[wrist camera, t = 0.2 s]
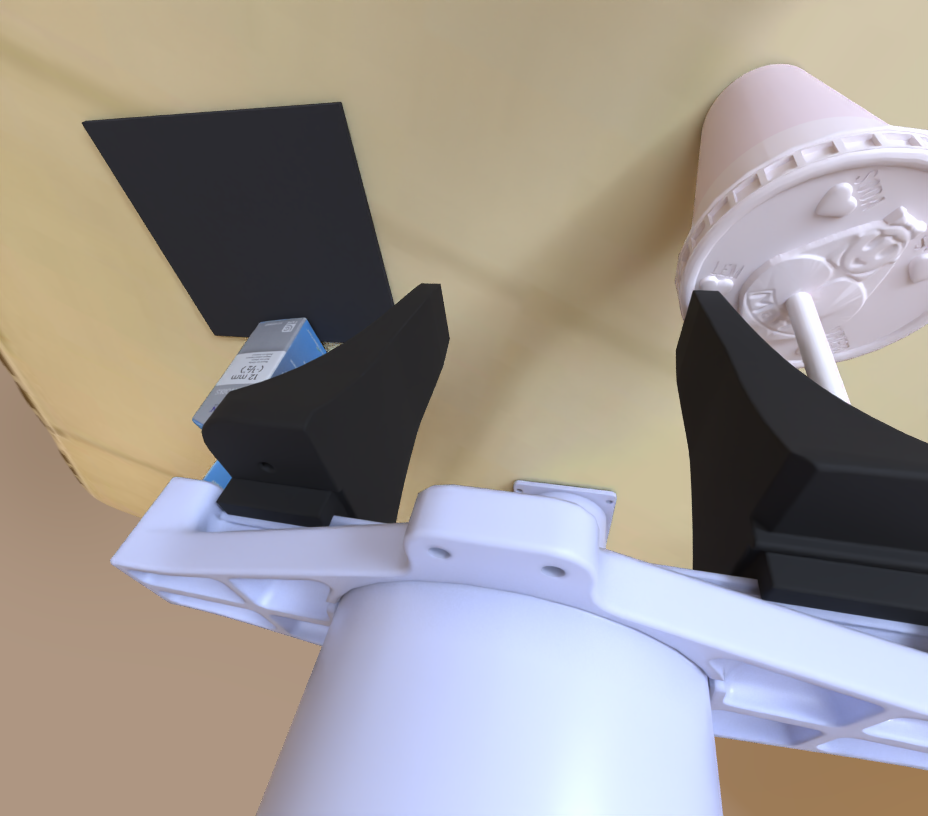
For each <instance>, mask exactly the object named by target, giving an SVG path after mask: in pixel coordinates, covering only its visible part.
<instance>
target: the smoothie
mask: <svg viewBox="0 0 928 816" xmlns="http://www.w3.org/2000/svg"><path fill="white" fill-rule="evenodd" d="M675 284H676V289H677V294H678V299H679V303H680V310H681V314H682V318H683V320H685V316H686V313H687V309H688V306H689V302H690V299H691V295H692V292H693V290H706V291H719V292H720V293H721V294H722V295H723V296H724V297H725V299H726V300H727V301H728V302H729V303H730V304H731V305H732V306H733V308H734V309H735V310H736V311H737V312H738V313H739V314H740V315H741V317H742V318H743V319H744V320H745V321H746V322H747V323H748V324H749V325H750V326H751V327H752V328H753V329H754V330H755V331H756V332H757V333H758V334H759V335H760V336H761V337H762V338H763V339H764V340H765V341H766V342H767V343H768V344H769V345H770V346H771V347H772V348H773V349H774V350H775V351H777V352H778V353H779V354H780V355H781V356H782V357H783V358H784V359H786V360H787V361H788V362H789V363H790V364H792V365H793V366H794V367H795V368H797V369H799V368H805V370H806V373H807V377H809V378H810V379H811V380H813V381H814V382H815V383H817V384H818V385H820V386H821V387H823V388H824V389H826V390H827V391H829V392H830V393H832V394H834V395H835V396H837V397H838V398H840V399H842V400H843V401H845V402H847V403H848V404H850V401H849V399H848V396H847V393H846V390H845V388H844V385H843V382H842V379H841V377H840V374H839V371H838V368H837V366H836V363H837V362H841V361H845V360H849V359H853V358H856V357H859V356H862V355H864V354H867V353H870V352H873V351H876V350H879V349H881V348H883V347H885V346H887V345H890V344H892V343H894V342H896V341H898V340H900V339H903V338H905V337H906V336H908V335H910V334H911V333H913V332H915V331H917V330H918V329H920V328H922V327H923V326H925V325H926V324H928V130H922V129H915V128H907V127H899V126H891V125H889V124H887V123H886V122H884V121H882V120H881V119H879V118H878V117H876V116H875V115H873V114H871V113H870V112H868V111H867V110H865V109H864V108H862V107H861V106H859V105H857V104H856V103H854V102H853V101H851V100H850V99H848V98H846V97H845V96H843V95H842V94H840V93H839V92H837V91H835V90H834V89H832V88H831V87H829V86H828V85H826V84H824V83H823V82H821V81H820V80H818V79H817V78H815V77H813V76H812V75H810V74H809V73H807V72H806V71H804V70H803V69H801V68H799V67H796V66H793V65H789V64H772V65H766V66H762V67H759V68H756V69H754V70H752V71H750V72H748V73H746V74H744V75H742V76H741V77H739V78H738V79H736V80H735V81H734V82H732V83H731V84H730V85H729V86H728V87H727V88H726V89H725V90H724V91H723V92H722V93H721V94H720V95H719V96H718V97H717V99H716V100H715V101H714V103H713V104H712V106H711V108H710V109H709V111H708V113H707V115H706V118H705V121H704V124H703V128H702V134H701V144H700V154H699V163H698V173H697V182H696V192H695V201H694V211H693V221H692V228H691V230H690V232H689V234H688V236H687V238H686V241H685V243H684V245H683V247H682V249H681V251H680V253H679V256H678V263H677V270H676V277H675ZM850 405H851V404H850Z"/></svg>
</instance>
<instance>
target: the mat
mask: <svg viewBox="0 0 928 816" xmlns="http://www.w3.org/2000/svg"><path fill="white" fill-rule="evenodd" d="M82 125H83V126H84V128H85V129H86V131H87V133H88V134H89V136H90V137H91V139H92V140H93V142H94V144H95V145H96V147H97V148H98V150H99V152H100V153H101V155H102V156H103V158H104V160H105V161H106V163H107V164H108V166H109V168H110V169H111V171H112V172H113V174H114V176H115V177H116V179H117V180H118V182H119V184H120V185H121V187H122V188H123V190H124V192H125V193H126V195H127V196H128V198H129V199H130V201H131V203H132V204H133V206H134V207H135V209H136V211H137V212H138V214H139V215H140V217H141V219H142V220H143V222H144V223H145V225H146V227H147V228H148V230H149V231H150V233H151V235H152V236H153V238H154V239H155V241H156V243H157V244H158V246H159V247H160V249H161V251H162V252H163V254H164V255H165V257H166V258H167V260H168V262H169V263H170V265H171V266H172V268H173V270H174V271H175V273H176V274H177V276H178V278H179V279H180V281H181V282H182V284H183V286H184V287H185V289H186V290H187V292H188V294H189V295H190V297H191V298H192V300H193V302H194V303H195V305H196V306H197V308H198V310H199V311H200V313H201V314H202V316H203V317H204V319H205V321H206V322H207V324H208V325H209V327H210V329H211V330H212V332H213V333H214V335H217V336H234V337H250V335H251V334H252V333H253V331H254V330H255V329H256V327H257V326H258V324H259V323H260V322H266V321H275V320H283V319H295V318H306V319H307V320H308V322H309V324H310V325H311V327H312V329H313V330H314V332H315V334H316V336H317V337H318V339H319V341H323V342H341V343H345V342H346V341H348V340H349V339H351V338H352V337H354V336H355V335H357V334H358V333H359V332H361V331H362V330H363V329H365V328H366V327H367V326H369V325H370V324H372V323H373V322H374V321H376V320H377V319H378V318H380V317H381V316H382V315H383V314H384V313H386V312H387V311H388V310H389V309H390V308H392V307H393V306H394V302H393V298H392V294H391V290H390V286H389V283H388V279H387V275H386V271H385V267H384V264H383V260H382V256H381V252H380V248H379V244H378V241H377V237H376V233H375V229H374V225H373V221H372V218H371V214H370V210H369V206H368V202H367V198H366V195H365V191H364V187H363V183H362V179H361V175H360V172H359V168H358V164H357V160H356V156H355V153H354V149H353V145H352V141H351V137H350V133H349V130H348V126H347V122H346V118H345V114H344V110H343V107H342V103H341V102H334V103H321V104H307V105H294V106H280V107H267V108H254V109H240V110H227V111H213V112H200V113H186V114H173V115H159V116H146V117H132V118H119V119H105V120H92V121H84V122H82Z"/></svg>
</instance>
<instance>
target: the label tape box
mask: <svg viewBox="0 0 928 816" xmlns="http://www.w3.org/2000/svg"><path fill="white" fill-rule="evenodd" d="M326 353H327V352H326V350H325V349H324V347H323V346H322V344H321V342H320V341H319V339H318V337H317V336H316V334H315V332H314V330H313V329H312V327H311V325H310V324H309V322H308V320H307V319H306V318H295V319H283V320H275V321H266V322H260V323H259V324H258V326H257V327H256V329H255V330H254V331H253V333H252V334H251V335H250V337H249V338H248V340H247V341H246V342H245V344H244V345H243V347H242V348H241V350H240V351H239V353H238V354H237V356H236V357H235V358H234V360H233V361H232V363H231V364H230V365H229V367H228V368H227V370H226V371H225V373H224V374H223V375H222V377H221V378H220V380H219V381H218V382H217V384H216V385H215V387H214V388H213V390H212V391H211V392H210V394H209V395H208V397H207V398H206V399H205V401H204V402H203V404H202V405H201V407H200V408H199V409H198V411H197V412H196V413H195V415H194V416H193V418H192V421H193V422H194V423H195V424H196V425H197V426H198V427H199V428H200V429H201V430H202V427H203V425H204V423H205V422H206V421H207V419H208V418H209V417H210V415H211V414H212V413H213V412H214V410H215V409H216V408H217V406H218V405H219V404H220V403H221V401H222V400H223V399H224V397H225V396H226V395H227V393H228V392H229V391H232V390H236V389H239V388H242V387H246V386H249V385H252V384H255V383H258V382H262V381H264V380H267V379H270V378H273V377H275V376H278V375H281V374H283V373H286V372H288V371H290V370H293V369H295V368H298V367H300V366H302V365H304V364H306V363H308V362H310V361H312V360H314V359H316V358H318V357H320V356H322V355H324V354H326ZM231 478H232V477H231V476H230V474H229V473H228V472H227V471H226V470H225V468H224V467H223V466H222V465H221V464H220V462H219V461H218V460H217V461H216V462H215V463H214V465H213V466H212V467H211V469H210V470H209V471H208V473H207V474H206V476H205V477H204V478H203V480H204V481H209V482H212V483H214V484H216V485H218V486H219V487H220V488H222V489H223V490H224V489H225V487H226V486H227V484H228V483H229V481H230V480H231Z"/></svg>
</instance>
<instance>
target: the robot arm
mask: <svg viewBox="0 0 928 816" xmlns="http://www.w3.org/2000/svg"><path fill="white" fill-rule="evenodd" d="M449 339H450V337H449V331H448V326H447V320H446V314H445V308H444V302H443V296H442V290H441V284H424V283H421V284H420V285H418V286H417V287H416V288H414V289H413V290H412V291H411V292H410V293H408V294H407V295H406V296H405V297H404V298H402V299H401V300H400V301H399V302H398V303H397V304H395V305H394V306H393V307H392V308H390V309H389V310H388V311H387V312H386V313H384V314H383V315H382V316H381V317H380V318H378V319H377V320H376V321H374V322H373V323H372V324H370V325H369V326H367V327H366V328H365V329H363V330H362V331H361V332H359V333H358V334H357V335H355V336H354V337H352V338H351V339H349V340H348V341H346V342H345V343H343V344H341V345H340V346H338V347H336V348H335V349H333V350H331V351H330V352H328V353H326V354H324V355H322V356H320V357H318V358H316V359H314V360H312V361H310V362H308V363H306V364H304V365H302V366H300V367H298V368H295V369H293V370H290V371H288V372H286V373H283V374H281V375H278V376H275V377H273V378H270V379H267V380H264V381H262V382H258V383H255V384H252V385H249V386H246V387H242V388H239V389H236V390H232V391H229V392H228V393H227V395H226V396H225V397H224V399H223V400H222V401H221V403H220V404H219V405H218V406H217V408H216V409H215V410H214V412H213V413H212V414H211V415H210V417H209V418H208V419H207V421H206V422H205V423H204V425H203V427H202V436H203V439H204V442H205V444H206V445H207V447H208V449H209V450H210V451H211V453H212V454H213V455H214V456H215V457H216V459H217V460H218V461H219V462H220V464H221V465H222V466H223V467H224V468H225V470H226V471H227V472H228V473H229V474H230V476H231V477H232V478H231V480H230V481H229V483H228V484H227V486H226V487H225V489H224V490H223V489H222V488H220V487H219V486H218V485H216V484H214V483H212V482H209V481H204V480H197V479H190V478H183V477H173V478H172V479H171V481H170V482H169V483H168V484H167V486H166V487H165V488H164V490H163V491H162V492H161V494H160V495H159V496H158V498H157V499H156V500H155V502H154V503H153V504H152V506H151V507H150V508H149V510H148V511H147V512H146V513H145V515H144V516H143V517H142V519H141V520H140V521H139V523H138V524H137V525H136V527H135V528H134V529H133V531H132V532H131V533H130V535H129V536H128V537H127V539H126V540H125V541H124V543H123V544H122V545H121V547H120V548H119V549H118V550H117V552H116V553H115V554H114V556H113V557H112V558H111V560H110V561H111V564H112V565H113V566H115V567H116V568H118V569H119V570H121V571H122V572H124V573H125V574H127V575H128V576H130V577H131V578H133V579H134V580H136V581H138V582H139V583H140V584H142V585H143V586H145V587H146V588H148V589H150V590H151V591H152V592H154V593H155V594H157V595H158V596H160V597H161V598H163V599H164V600H166V601H167V602H169V603H171V604H176V605H180V606H184V607H189V608H193V609H197V610H202V611H206V612H209V613H213V614H216V615H220V616H224V617H228V618H231V619H234V620H238V621H241V622H245V623H248V624H251V625H255V626H258V627H261V628H264V629H268V630H271V631H274V632H278V633H281V634H284V635H287V636H291V637H294V638H297V639H300V640H303V641H307V642H310V643H313V644H316V645H320V646H322V648H321V650H320V653H319V655H318V658H317V661H316V663H315V665H314V668H313V671H312V674H311V676H310V678H309V681H308V683H307V686H306V688H305V691H304V694H303V696H302V699H301V701H300V704H299V706H298V709H297V712H296V714H295V717H294V719H293V722H292V724H291V727H290V730H289V732H288V734H287V737H286V739H285V742H284V745H283V747H282V750H281V752H280V755H279V757H278V760H277V763H276V765H275V768H274V770H273V773H272V775H271V778H270V781H269V783H268V785H267V788H266V791H265V793H264V796H263V798H262V801H261V803H260V806H259V808H258V811H257V813H256V816H723V812H722V803H721V793H720V784H719V775H718V766H717V758H716V749H715V739H714V736H716V737H722V738H729V739H735V740H742V741H748V742H754V743H761V744H768V745H775V746H781V747H788V748H794V749H801V750H807V751H813V752H820V753H826V754H833V755H840V756H846V757H853V758H859V759H865V760H871V761H877V762H884V763H889V764H896V765H902V766H907V767H913V768H918V769H924V770H928V443H926V442H923V441H921V440H919V439H916V438H914V437H912V436H909V435H907V434H905V433H903V432H901V431H899V430H897V429H895V428H893V427H891V426H889V425H887V424H885V423H883V422H881V421H879V420H877V419H875V418H873V417H871V416H869V415H868V414H866V413H864V412H862V411H860V410H858V409H857V408H855V407H853V406H851V405H850V404H848V403H847V402H845V401H843V400H842V399H840V398H838V397H837V396H835V395H834V394H832V393H830V392H829V391H827V390H826V389H824V388H823V387H821V386H820V385H818V384H817V383H815V382H814V381H813V380H811V379H810V378H809V377H807V376H806V375H805V374H803V373H802V372H801V371H799V370H798V369H797V368H795V367H794V366H793V365H792V364H790V363H789V362H788V361H787V360H786V359H784V358H783V357H782V356H781V355H780V354H779V353H778V352H777V351H775V350H774V349H773V348H772V347H771V346H770V345H769V344H768V343H767V342H766V341H765V340H764V339H763V338H762V337H761V336H760V335H759V334H758V333H757V332H756V331H755V330H754V329H753V328H752V327H751V326H750V325H749V324H748V323H747V322H746V321H745V320H744V319H743V318H742V317H741V315H740V314H739V313H738V312H737V311H736V310H735V309H734V308H733V306H732V305H731V304H730V303H729V302H728V301H727V300H726V299H725V297H724V296H723V295H722V294H721V293H720V292H719V291H706V290H693V292H692V295H691V299H690V302H689V306H688V309H687V313H686V316H685V320H684V324H683V327H682V331H681V334H680V338H679V341H678V345H677V348H676V378H677V387H678V393H679V398H680V404H681V410H682V415H683V421H684V426H685V432H686V437H687V443H688V449H689V457H690V472H691V491H692V522H693V570H691V569H685V568H678V567H672V566H665V565H658V564H652V563H648V562H645V561H641V560H638V559H635V558H632V557H629V556H626V555H623V554H620V553H617V552H614V551H611V550H607V549H606V543H607V538H608V534H609V530H610V525H611V521H612V517H613V512H614V508H615V504H616V499H617V495H616V493H615V492H612V491H606V490H597V489H589V488H580V487H572V486H564V485H555V484H547V483H539V482H530V481H522V480H517V481H515V482H514V485H513V491H514V492H510V491H502V490H494V489H486V488H478V487H470V486H462V485H454V484H451V485H433V486H431V487H429V488H427V489H425V490H423V491H422V492H420V493H418V496H417V499H416V502H415V505H414V508H413V511H412V514H411V517H410V520H409V522H406V523H396V519H397V514H398V509H399V505H400V500H401V495H402V491H403V486H404V482H405V478H406V474H407V470H408V465H409V461H410V457H411V454H412V450H413V446H414V443H415V439H416V435H417V432H418V429H419V426H420V423H421V420H422V418H423V415H424V413H425V410H426V408H427V405H428V403H429V400H430V398H431V396H432V393H433V391H434V388H435V386H436V383H437V381H438V378H439V375H440V373H441V370H442V368H443V365H444V361H445V357H446V353H447V348H448V344H449Z"/></svg>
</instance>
